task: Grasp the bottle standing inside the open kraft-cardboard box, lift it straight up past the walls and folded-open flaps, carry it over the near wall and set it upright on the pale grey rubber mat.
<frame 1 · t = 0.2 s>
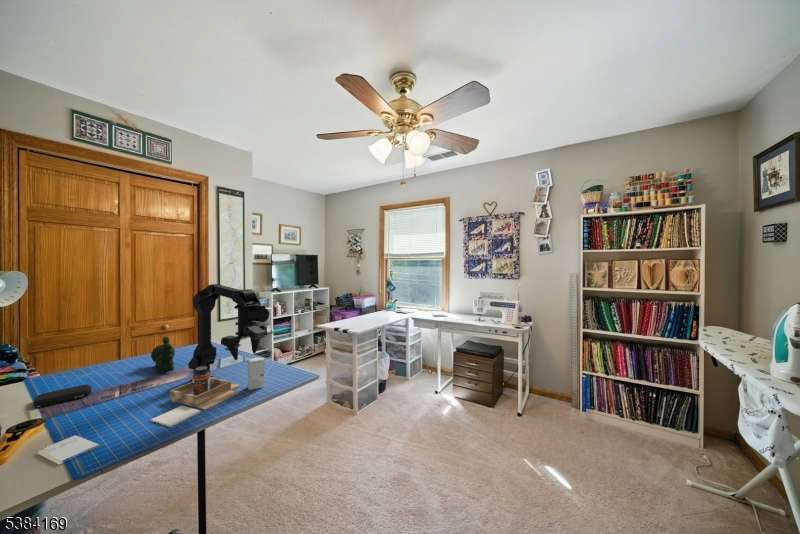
hand: (245, 356, 123), 14 cm above the table, tool pointing down, fingers open, 9 cm apart
skincare box: (256, 387, 126), on the table
carrying case or bag: (63, 400, 114), on the table
supplement bottle: (201, 396, 118), resting in carton
grey mat: (176, 416, 102), on the table
external hard drive: (68, 453, 84), on the table
carton: (201, 395, 118), on the table
dark green lumpy piece: (164, 369, 145), on the table
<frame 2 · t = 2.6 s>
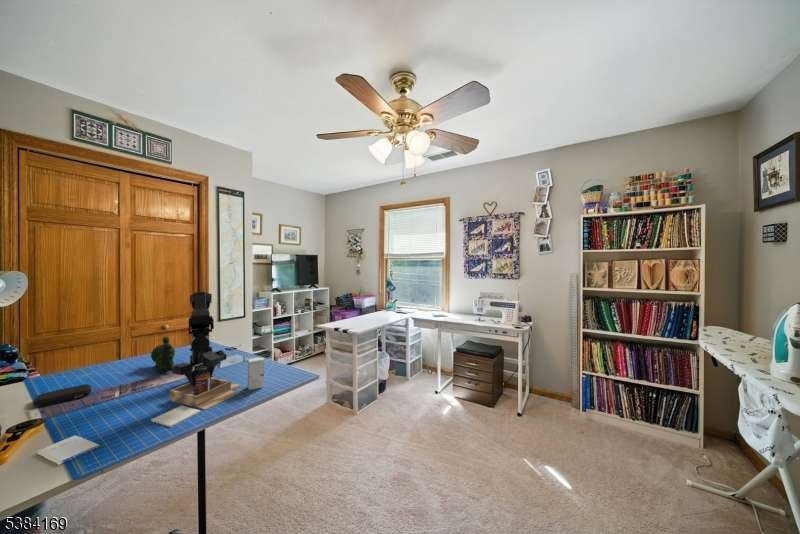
hand: (201, 383, 118), 5 cm above the table, tool pointing down, fingers closed on supplement bottle, 6 cm apart
supplement bottle: (201, 396, 118), resting in carton, touching gripper
everything else where it was.
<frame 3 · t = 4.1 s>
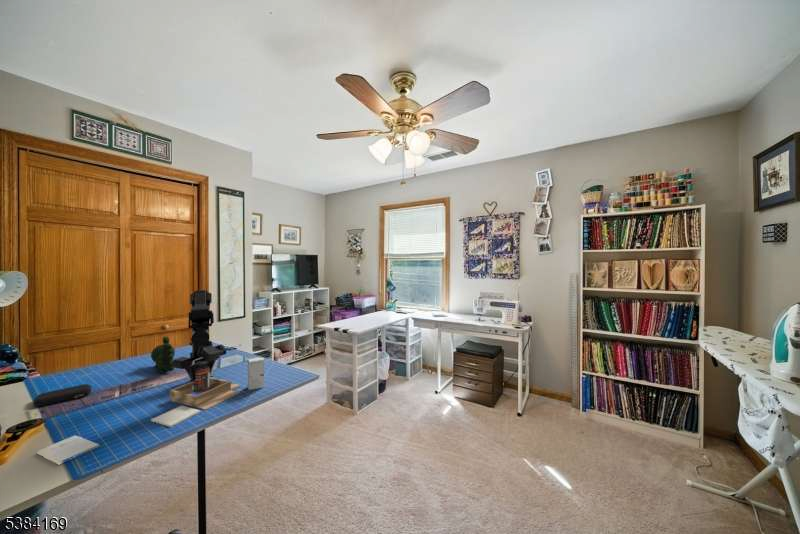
hand: (201, 377, 118), 7 cm above the table, tool pointing down, fingers closed on supplement bottle, 6 cm apart
supplement bottle: (201, 390, 118), point 2 cm above the table, touching gripper
everything else where it was.
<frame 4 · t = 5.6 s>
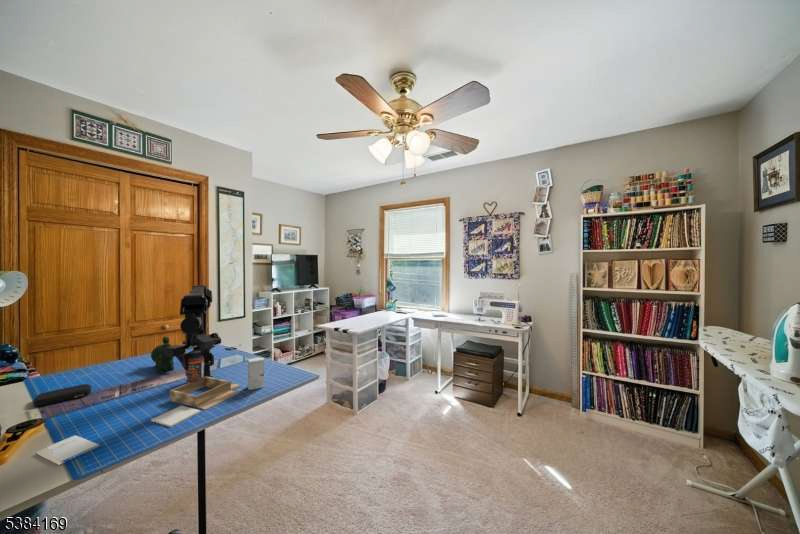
hand: (194, 367, 113), 13 cm above the table, tool pointing down, fingers closed on supplement bottle, 6 cm apart
supplement bottle: (195, 380, 113), point 8 cm above the table, touching gripper
everything else where it was.
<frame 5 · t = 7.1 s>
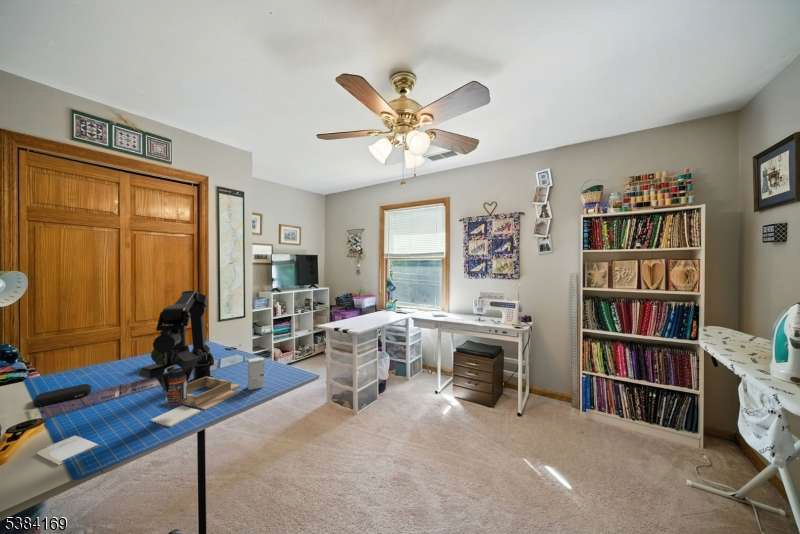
hand: (176, 387, 102), 10 cm above the table, tool pointing down, fingers closed on supplement bottle, 6 cm apart
supplement bottle: (176, 402, 102), point 5 cm above the table, touching gripper
when the fingers open (7 cm above the table, at t = 8.3 s): supplement bottle drops 1 cm, resting on grey mat.
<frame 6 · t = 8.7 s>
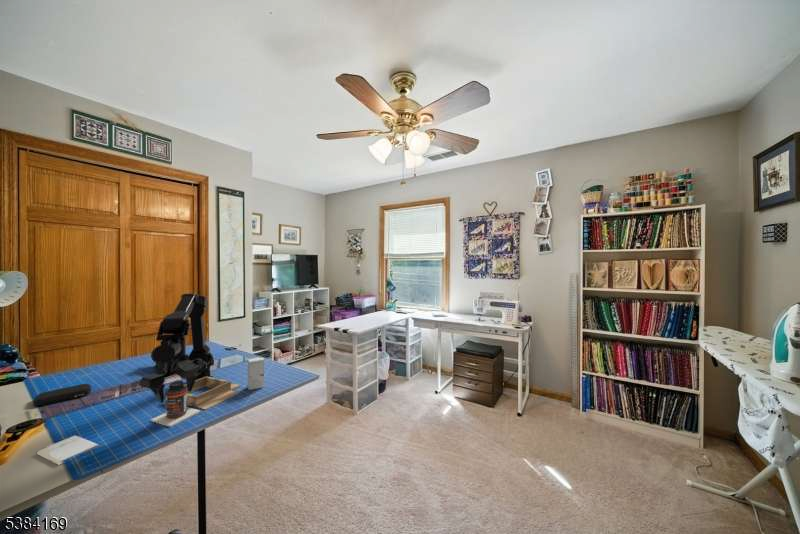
hand: (176, 396, 102), 7 cm above the table, tool pointing down, fingers open, 9 cm apart
supplement bottle: (176, 415, 102), resting on grey mat
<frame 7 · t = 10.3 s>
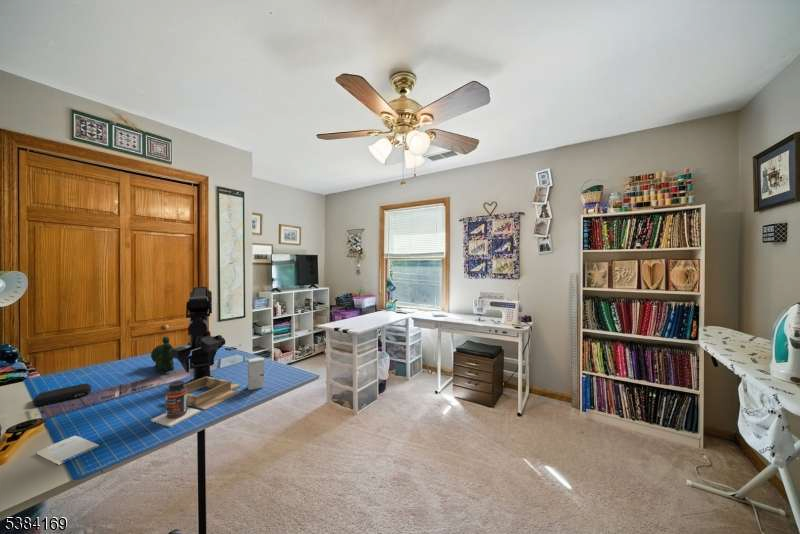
hand: (199, 367, 116), 12 cm above the table, tool pointing down, fingers open, 9 cm apart
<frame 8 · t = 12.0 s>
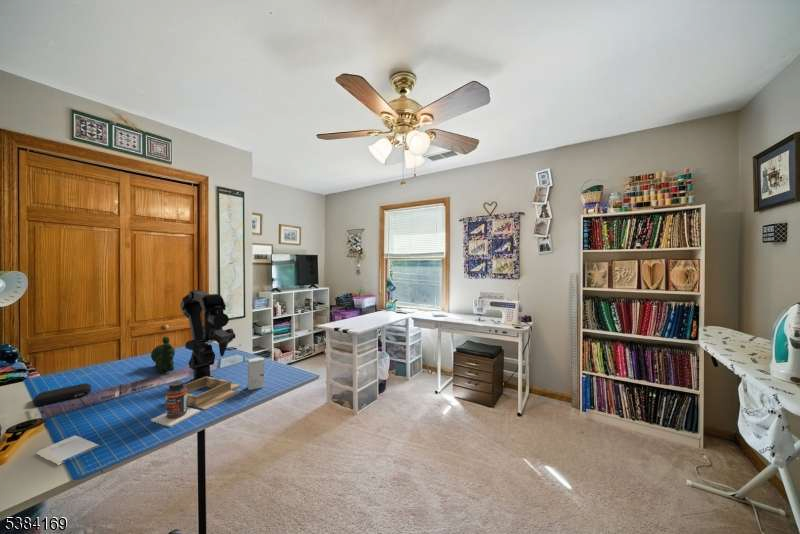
hand: (212, 359, 125), 12 cm above the table, tool pointing down, fingers open, 9 cm apart
at the end: supplement bottle inside the target area on the grey mat (0.1 cm from its centre), point 0.4 cm above the grey mat's base; supplement bottle tilted 0°; the gripper is holding nothing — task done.
